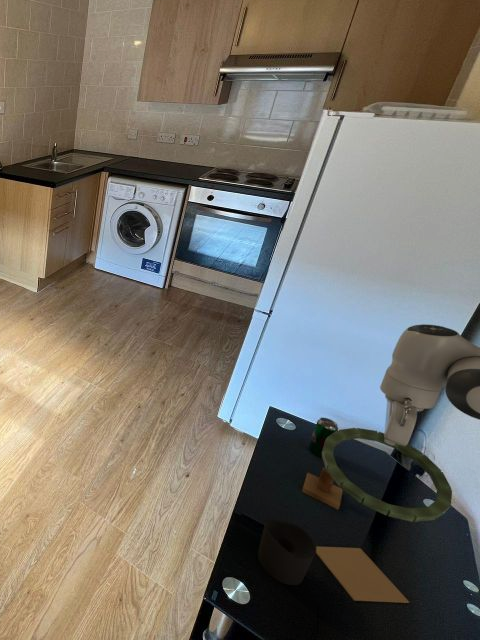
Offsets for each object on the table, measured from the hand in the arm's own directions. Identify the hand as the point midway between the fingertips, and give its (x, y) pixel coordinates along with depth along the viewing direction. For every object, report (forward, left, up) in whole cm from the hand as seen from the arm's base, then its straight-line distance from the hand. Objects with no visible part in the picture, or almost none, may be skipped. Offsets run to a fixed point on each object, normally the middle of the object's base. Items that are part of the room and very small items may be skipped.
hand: (389, 439), depth 97 cm
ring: (0, +8, -5) cm, 10 cm away
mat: (-2, +14, -29) cm, 32 cm away
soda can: (+10, -28, -29) cm, 41 cm away
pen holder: (+11, +26, -29) cm, 41 cm away
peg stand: (+7, -9, -29) cm, 31 cm away
